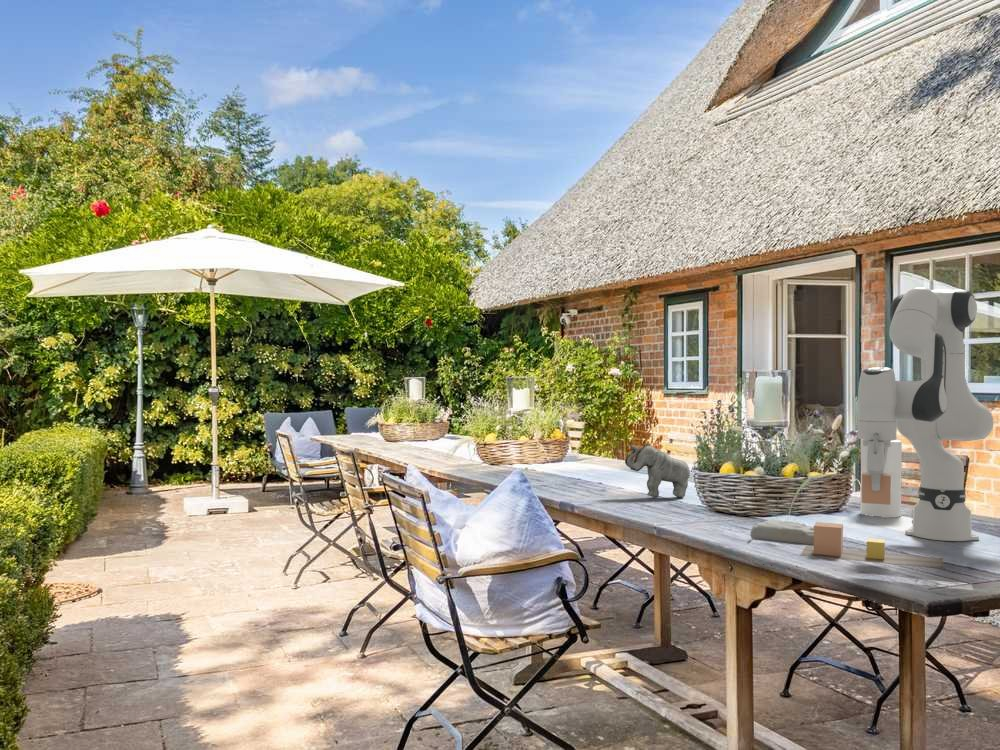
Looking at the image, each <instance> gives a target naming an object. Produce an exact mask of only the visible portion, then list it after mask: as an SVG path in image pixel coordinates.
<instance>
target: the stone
mask: <svg viewBox="0 0 1000 750" xmlns="http://www.w3.org/2000/svg"><path fill="white" fill-rule="evenodd" d="M750 538H751V540H754V539H763V540H771V541H778V542H779V541H780V542H787V543H789V542H790V543H798V544H806V545H807V544H808V545H814V525H812V526H811V525H810V526H809V525H806V523H800V522H795V521H788V520H780V519H774V518H770V519H767V520H764V521H763V522H756V523H755V524H753V526H752V528H751V530H750Z"/></svg>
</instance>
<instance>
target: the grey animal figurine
mask: <svg viewBox="0 0 1000 750" xmlns="http://www.w3.org/2000/svg"><path fill="white" fill-rule="evenodd" d="M630 446H631V450H632V451H631V452H630V453H629V454H628V455H627V457H626V458H625V462H624V463H625V466H627V467H628V468H629V469H630V470H631V471H635V472H639V471H640V470H642V469H643V468H644V467H646V469H647V476H648V479H647V481H646V487H647V490H648V492H647V493H646V494H647V496H650V497H651V498H653V499H655V498H658V497H659V495H660V491H659V486H660V485H661V484H662V481H663V482H667V483H668V482H669V483H672V486H673V488H672V495H673V496H675V497H676V498H680V499H681V498H685V496H686V492H687V488H688V486H689V481H688V480H689V478H690V473H691V472H690V471H691V470H690V467H689V465H688V464H687V463H686V462H685V461H684V460H679V459H677V458H673V457H671V456H670V455H669V454H668V453H666V452H664V451H661V450H658V449H656V448H655V447H654V446H653V445H650V444H649V445H648V444H645V445H643V446H641V448H639V447H638V446H637V445H632V444H631V445H630ZM633 459H634V461H633Z"/></svg>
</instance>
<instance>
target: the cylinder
mask: <svg viewBox="0 0 1000 750" xmlns="http://www.w3.org/2000/svg"><path fill="white" fill-rule="evenodd" d="M902 443H903V442H902V440H898V439H896V440H894V441H891V443H890V444H891V447H888V451H887V459H886V464H885V468H884V472H883V473H891V503H890V505H886V504H871V503H862V473H863V472H867V446H863V440H861V439H860V509H859V510H860V512H861V513H863V514H867V515H873V516H883V517H882V518H887V517H893V518H900V517H901V516H902V461H903V460H902V453H903V452H902V449H903V447H902ZM861 513H860V514H861ZM863 514H862V515H863ZM867 515H866V516H867ZM873 516H872V517H873ZM899 516H900V517H899Z"/></svg>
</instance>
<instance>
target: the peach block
mask: <svg viewBox="0 0 1000 750" xmlns="http://www.w3.org/2000/svg"><path fill="white" fill-rule="evenodd" d="M813 526H814V544H813V547H814V554H823V555H834V556H841V555H842V552H843V548H844V524H843V523H832V522H819V521H816V522H815V524H814V525H813Z"/></svg>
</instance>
